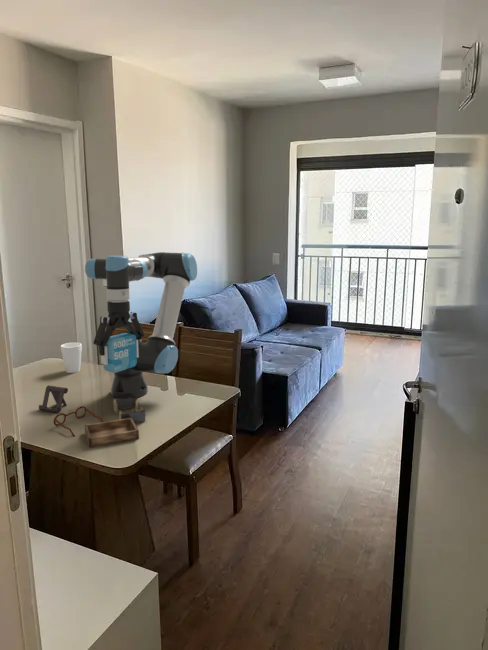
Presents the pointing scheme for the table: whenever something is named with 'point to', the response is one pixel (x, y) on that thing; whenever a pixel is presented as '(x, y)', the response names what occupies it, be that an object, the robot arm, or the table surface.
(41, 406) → the portable electronic device stand
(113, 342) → the data package
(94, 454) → the table surface
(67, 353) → the foam cup
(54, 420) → the glasses
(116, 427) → the tray
